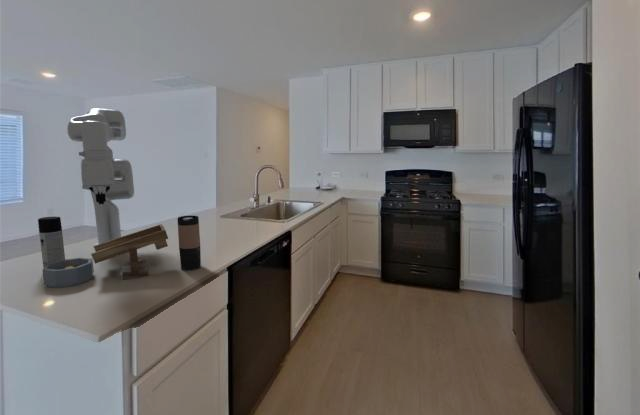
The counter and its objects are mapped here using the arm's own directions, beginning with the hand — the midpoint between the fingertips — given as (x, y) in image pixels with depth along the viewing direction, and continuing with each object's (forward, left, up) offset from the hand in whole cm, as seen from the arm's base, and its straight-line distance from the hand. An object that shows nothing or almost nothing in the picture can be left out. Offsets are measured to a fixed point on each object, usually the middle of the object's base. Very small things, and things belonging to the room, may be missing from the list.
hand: (101, 203), depth 124 cm
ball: (+11, -10, -22) cm, 27 cm away
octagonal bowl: (+11, -10, -25) cm, 29 cm away
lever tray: (+7, +10, -18) cm, 22 cm away
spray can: (-6, -17, -25) cm, 31 cm away
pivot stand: (+11, +9, -25) cm, 29 cm away
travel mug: (+18, +28, -25) cm, 42 cm away
